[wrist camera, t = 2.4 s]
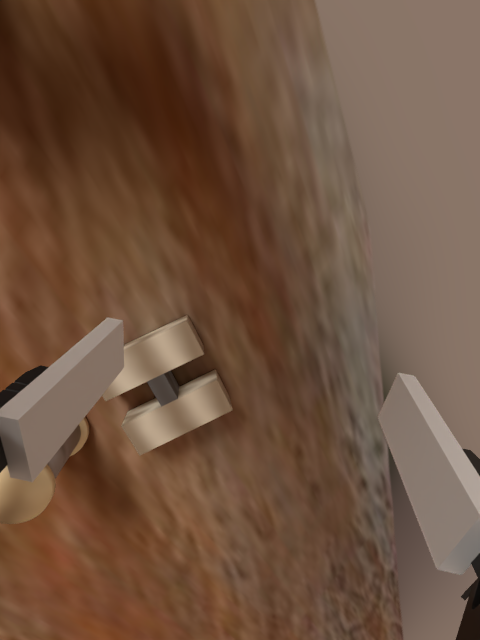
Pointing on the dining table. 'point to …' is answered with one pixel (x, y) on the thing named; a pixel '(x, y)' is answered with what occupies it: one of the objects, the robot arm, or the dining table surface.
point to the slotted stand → (167, 387)
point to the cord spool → (37, 482)
